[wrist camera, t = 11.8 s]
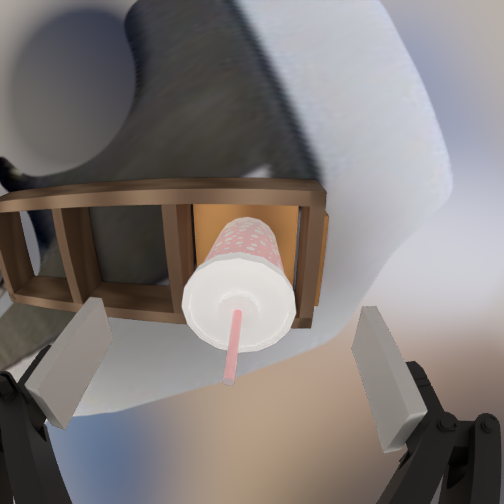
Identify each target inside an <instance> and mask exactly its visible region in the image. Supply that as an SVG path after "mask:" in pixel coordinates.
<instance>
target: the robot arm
mask: <svg viewBox="0 0 504 504" xmlns="http://www.w3.org/2000/svg"><path fill="white" fill-rule="evenodd" d="M112 341H113V335H112V332H111V329H110V326H109V322H108V319H107V315H106V312H105V308H104V305H103V301H102V298H95V297H90V298H89V299H88V300H87V301H86V302H85V304H84V305H83V306H82V307H81V309H80V310H79V311H78V312H77V314H76V315H75V316H74V317H73V319H72V320H71V321H70V322H69V324H68V325H67V326H66V328H65V329H64V330H63V332H62V333H61V334H60V336H59V337H58V338H57V339H56V341H55V342H54V344H53V345H48V346H46V347H45V348H44V349H42V350H41V351H40V352H39V354H38V355H37V356H36V358H35V359H34V360H33V362H32V363H31V365H30V366H29V367H28V369H27V370H26V371H25V373H24V374H23V376H22V377H21V379H20V380H19V382H18V383H16V381H15V380H14V378H13V376H12V375H11V374H10V373H9V372H7V371H1V372H0V504H13V496H14V500H15V504H72V501H71V499H70V497H69V494H68V492H67V489H66V487H65V484H64V482H63V479H62V476H61V473H60V471H59V467H58V464H57V461H56V458H55V455H54V452H53V449H52V445H51V442H50V438H49V434H48V430H47V427H46V425H45V424H44V422H45V420H46V418H47V419H48V421H49V422H50V423H51V424H52V426H55V427H57V428H60V429H63V430H66V428H67V426H68V423H69V422H70V420H71V418H72V416H73V414H74V412H75V410H76V408H77V406H78V404H79V402H80V400H81V398H82V396H83V394H84V392H85V390H86V388H87V386H88V384H89V382H90V381H91V379H92V377H93V375H94V373H95V371H96V370H97V368H98V366H99V364H100V362H101V360H102V359H103V357H104V355H105V353H106V352H107V350H108V348H109V346H110V344H111V343H112ZM352 351H353V355H354V357H355V360H356V363H357V366H358V370H359V372H360V376H361V379H362V382H363V385H364V388H365V391H366V395H367V398H368V401H369V404H370V407H371V411H372V414H373V418H374V421H375V425H376V428H377V432H378V435H379V439H380V442H381V446H382V449H383V453H387V452H392V451H396V450H400V449H401V448H402V447H403V445H404V444H405V443H406V445H407V448H408V450H407V452H406V453H405V454H404V455H403V457H402V458H401V459H400V460H399V462H400V464H399V466H398V468H397V470H396V471H395V473H394V475H393V477H392V479H391V480H390V482H389V484H388V485H387V487H386V489H385V490H384V492H383V493H382V495H381V497H380V498H379V500H378V501H377V503H376V504H430V502H431V500H432V498H433V496H434V494H435V492H436V490H437V487H438V485H439V483H440V480H441V478H442V476H443V481H442V486H441V492H440V497H439V502H438V504H499V501H500V487H501V434H500V424H499V421H498V420H497V418H496V417H495V416H493V415H492V414H488V413H483V414H481V415H479V416H478V417H477V419H476V420H475V421H459V420H457V418H456V417H455V416H454V415H452V414H451V413H448V412H445V411H444V410H443V408H442V406H441V404H440V402H439V400H438V397H437V395H436V393H435V391H434V389H433V387H432V386H431V383H430V381H429V379H427V375H426V374H425V372H424V370H423V368H422V367H421V366H420V365H419V364H418V363H416V362H415V361H411V362H405V361H404V359H403V357H402V355H401V353H400V351H399V349H398V347H397V345H396V343H395V341H394V339H393V337H392V335H391V333H390V331H389V329H388V327H387V325H386V324H385V322H384V320H383V318H382V316H381V314H380V312H379V310H378V308H377V307H376V306H370V307H369V306H366V307H362V310H361V314H360V318H359V322H358V326H357V330H356V334H355V338H354V341H353V345H352ZM443 473H444V474H443Z"/></svg>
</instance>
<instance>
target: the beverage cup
mask: <svg viewBox="0 0 504 504" xmlns="http://www.w3.org/2000/svg"><path fill="white" fill-rule="evenodd" d="M182 310H183V313H184V316H185V319H186V322H187V324H188V325H189V327H190V328H191V329H192V330H193V331H194V332H195V333H196V335H197V336H198V337H199V338H200V339H202V340H203V341H205V342H207V343H209V344H210V345H212V346H214V347H216V348H218V349H222V350H227V357H226V364H225V370H224V377H223V383H224V384H225V385H229V386H231V385H233V384H234V383H235V375H236V366H237V357H238V353H241V352H252V351H259V350H261V349H264V348H266V347H269V346H271V345H273V344H276V343H277V342H278V341H279V340H280V339H281V338H282V337H283V336H284V335H285V334H286V333H287V332H288V331H289V330H290V328H291V325H292V323H293V320H294V318H295V315H296V307H295V297H294V291H293V287H292V285H291V284H290V282H289V281H288V279H287V277H286V276H285V274H284V270H283V266H282V262H281V258H280V254H279V250H278V246H277V242H276V238H275V235H274V234H273V232H272V230H271V229H270V227H269V226H268V225H266V224H265V223H264V222H262V221H261V220H259V219H255V218H251V217H244V218H237V219H235V220H233V221H231V222H230V223H228V224H227V225H226V226H225V227H224V229H223V230H222V231H221V233H220V234H219V236H218V238H217V240H216V241H215V243H214V245H213V247H212V248H211V250H210V252H209V254H208V255H207V257H206V259H205V261H204V262H203V263H202V264H201V265H199V266H198V268H197V269H196V270H195V272H194V273H193V275H192V276H191V277H190V279H189V280H188V282H187V284H186V285H185V287H184V292H183V299H182Z"/></svg>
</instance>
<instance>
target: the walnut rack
mask: <svg viewBox="0 0 504 504" xmlns="http://www.w3.org/2000/svg"><path fill="white" fill-rule="evenodd" d="M326 194H327V192H326V190H325V189H324V188H323V187H322V186H321V185H320V184H319V183H318V181H317V180H306V179H283V178H234V177H213V178H165V179H142V180H124V181H109V182H96V183H84V184H74V185H64V186H55V187H46V188H38V189H30V190H23V191H15V192H10V193H7V194H5V195H3V196H1V197H0V269H1V272H2V275H3V278H4V281H5V284H6V287H7V290H8V293H9V296H10V298H11V301H13V302H18V303H23V304H28V305H34V306H40V307H45V308H51V309H57V310H64V311H70V312H78V311H79V310H80V309H81V307H82V306H83V305H84V304H85V302H86V301H87V300H88V299H89V298H90V297H95V298H102V301H103V305H104V308H105V312H106V315H107V317H115V318H123V319H133V320H142V321H153V322H164V323H176V324H187V322H186V319H185V316H184V313H183V310H182V299H183V292H184V287H185V285H186V284H187V282H188V280H189V279H190V277H191V276H192V275H193V273H194V272H195V263H194V249H193V235H192V218H191V204H193V209H194V227H195V243H196V258H197V268H198V266H199V265H201V264H202V263H203V262H204V261H205V259H206V257H207V255H208V254H209V252H210V250H211V248H212V247H213V245H214V243H215V241H216V240H217V238H218V236H219V234H220V233H221V231H222V230H223V229H224V227H225V226H226V225H227V224H228V223H230V222H231V221H233V220H235V219H237V218H244V217H251V218H255V219H259V220H261V221H262V222H264V223H265V224H266V225H268V226H269V227H270V229H271V230H272V232H273V234H274V235H275V238H276V242H277V246H278V250H279V254H280V258H281V262H282V266H283V270H284V274H285V276H286V277H287V279H288V281H289V282H290V284H291V285H292V287H293V278H294V266H295V253H296V239H297V224H298V208H299V206H302V207H301V222H300V237H299V250H298V262H297V274H296V285H295V290H293V291H294V297H295V307H296V315H295V318H294V320H293V323H292V325H291V328H311V325H312V318H313V312H314V306H318V303H319V296H320V289H321V282H322V274H323V266H324V258H325V249H326V241H327V231H328V221H329V216H328V214H327V213H326V211H325V207H326ZM160 204H161V206H162V218H163V229H164V239H165V249H166V257H167V266H168V274H169V282H170V286H159V285H143V284H127V283H113V282H102V279H101V274H100V270H99V265H98V261H97V256H96V251H95V245H94V240H93V235H92V229H91V223H90V216H89V210H88V207H92V206H118V205H160ZM40 209H52V214H53V220H54V225H55V230H56V235H57V240H58V245H59V249H60V253H61V258H62V262H63V266H64V270H65V273H66V277H67V279H64V278H53V277H43V276H35V275H34V271H33V268H32V265H31V261H30V257H29V253H28V249H27V245H26V241H25V237H24V232H23V228H22V223H21V219H20V213H19V211H26V210H40Z"/></svg>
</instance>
